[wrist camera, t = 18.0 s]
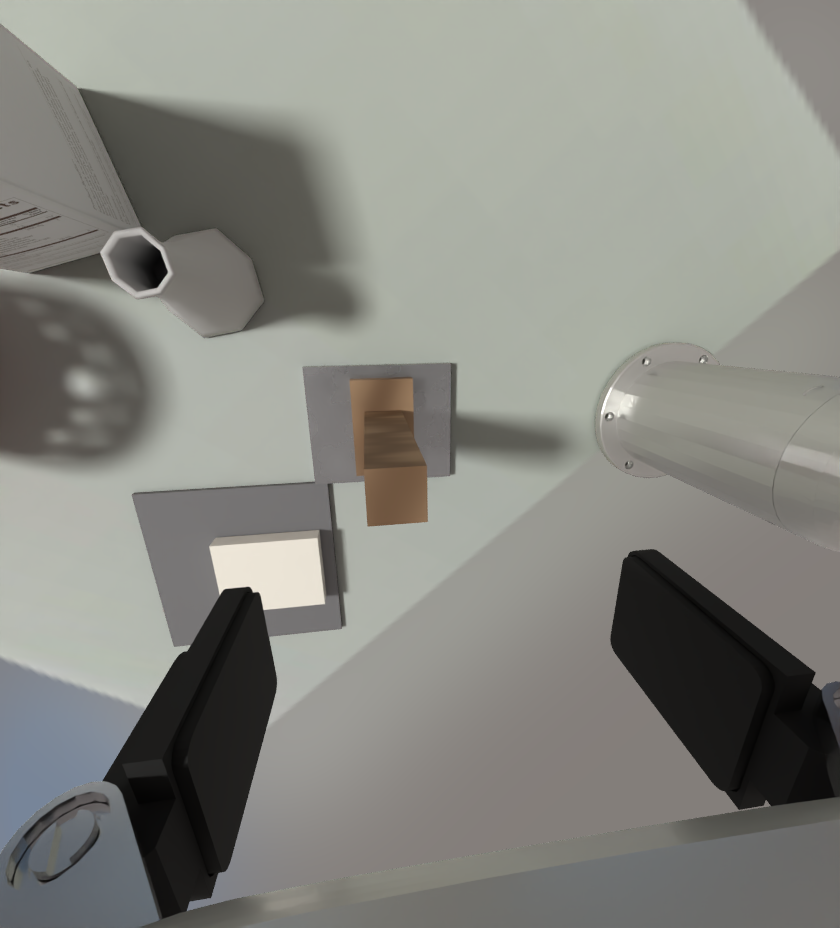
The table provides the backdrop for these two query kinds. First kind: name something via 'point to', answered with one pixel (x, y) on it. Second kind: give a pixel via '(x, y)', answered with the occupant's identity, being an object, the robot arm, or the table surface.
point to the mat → (224, 515)
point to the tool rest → (335, 423)
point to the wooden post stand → (388, 450)
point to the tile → (272, 567)
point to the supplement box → (51, 168)
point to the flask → (188, 276)
